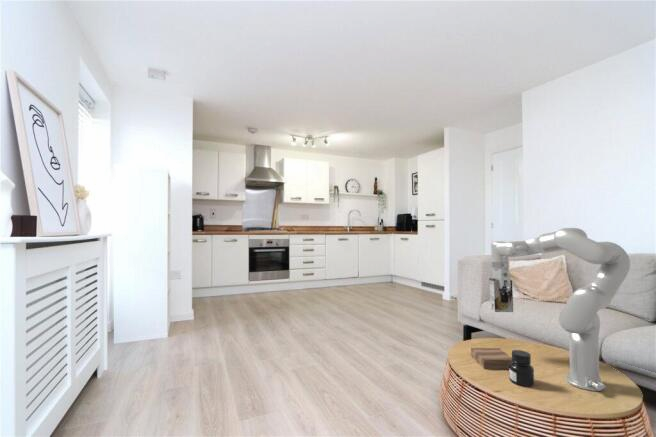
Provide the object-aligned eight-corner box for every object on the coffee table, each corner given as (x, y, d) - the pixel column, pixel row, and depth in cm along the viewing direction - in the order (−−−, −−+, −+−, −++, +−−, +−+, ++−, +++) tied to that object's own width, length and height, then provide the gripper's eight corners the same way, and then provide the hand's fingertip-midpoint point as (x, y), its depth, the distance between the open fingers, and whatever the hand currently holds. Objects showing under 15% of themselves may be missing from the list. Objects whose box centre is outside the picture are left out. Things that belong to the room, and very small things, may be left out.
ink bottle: (510, 374, 139) (510, 347, 139) (534, 380, 134) (533, 351, 134) (508, 383, 131) (507, 354, 131) (533, 390, 126) (533, 359, 126)
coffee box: (508, 309, 163) (507, 278, 164) (513, 312, 157) (512, 280, 157) (489, 309, 164) (488, 277, 165) (494, 312, 158) (493, 279, 159)
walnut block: (515, 368, 144) (515, 360, 144) (484, 368, 144) (484, 359, 145) (499, 356, 158) (499, 348, 158) (471, 356, 158) (471, 348, 159)
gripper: (516, 267, 153) (517, 304, 152) (499, 263, 170) (500, 297, 169) (500, 267, 153) (501, 304, 152) (485, 263, 170) (486, 297, 170)
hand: (501, 300), depth 161 cm, fingers closed on coffee box, 6 cm apart
